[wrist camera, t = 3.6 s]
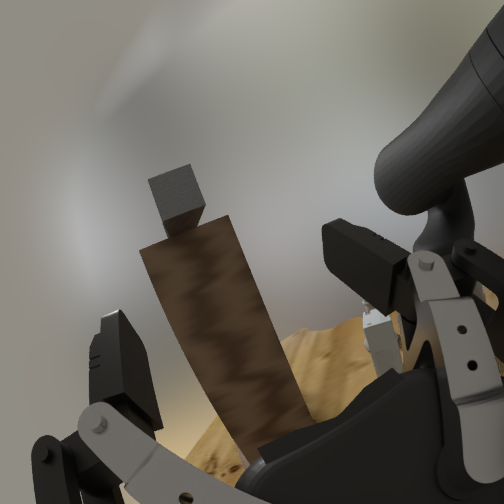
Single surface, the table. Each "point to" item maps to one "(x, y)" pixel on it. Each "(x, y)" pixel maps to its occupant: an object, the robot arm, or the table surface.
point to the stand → (227, 334)
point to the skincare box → (382, 342)
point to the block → (178, 199)
